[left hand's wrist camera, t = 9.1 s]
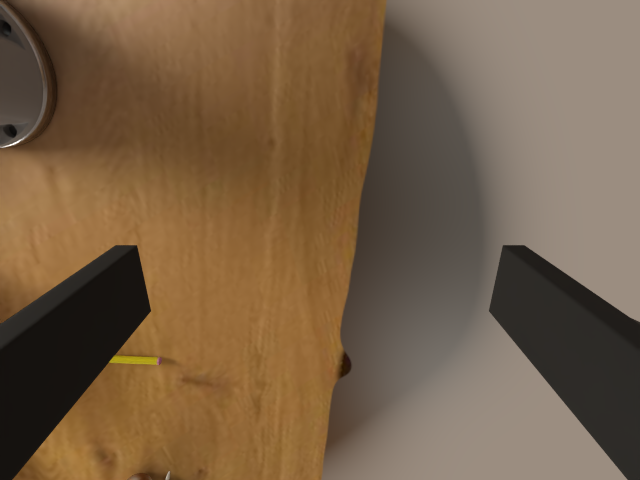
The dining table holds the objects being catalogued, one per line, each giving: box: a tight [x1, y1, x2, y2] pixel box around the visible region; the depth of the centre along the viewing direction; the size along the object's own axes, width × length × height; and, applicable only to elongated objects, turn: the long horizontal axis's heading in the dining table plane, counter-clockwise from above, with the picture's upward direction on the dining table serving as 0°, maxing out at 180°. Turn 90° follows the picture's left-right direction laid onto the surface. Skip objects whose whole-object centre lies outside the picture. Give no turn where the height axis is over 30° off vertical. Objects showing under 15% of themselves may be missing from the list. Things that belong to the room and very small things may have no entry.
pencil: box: [109, 355, 162, 365], centre depth 48 cm, size 16×1×1 cm, turn 87°
